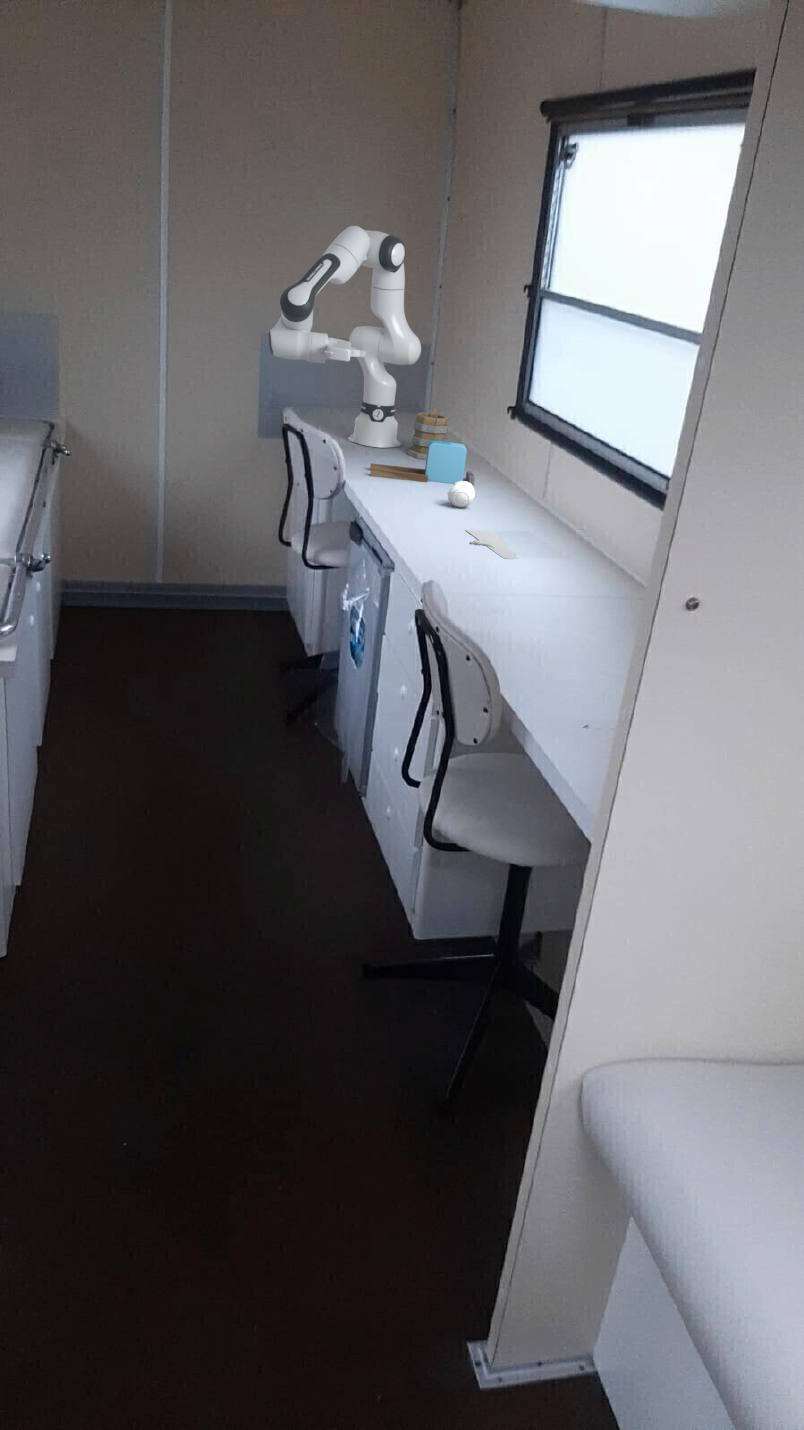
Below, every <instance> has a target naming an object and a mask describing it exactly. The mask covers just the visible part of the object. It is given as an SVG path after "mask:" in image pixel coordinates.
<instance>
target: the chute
mask: <svg viewBox="0 0 804 1430" xmlns="http://www.w3.org/2000/svg"><path fill="white" fill-rule="evenodd" d="M369 466H370V467H369V471H370V475H369V477H377V478H386V479H395V480H403V481H411V482H421V483H428V482H429V481H428V475H425V468H416V467H407V466H398V465H390V464H381V463H380V464H379V463H371V462H370V465H369ZM475 480H476V479H475V475H474V473H473V471H472V470H466V473H465V481H467V482H468V483H471V484H472V486H473V487H474V486H475Z"/></svg>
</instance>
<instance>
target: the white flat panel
mask: <svg viewBox="0 0 804 1430" xmlns="http://www.w3.org/2000/svg"><path fill="white" fill-rule="evenodd" d="M465 532H467V533H469V534H470V535H471V536H472V537H474V538H475V539H476V540H473V541H469V544H470V545H475V546H483V547H484V546H485V547H488V549H490V550H492V551H493V552H494V553H496V554H497V555H499V556H500V557H501V558H503V559H506V560H515V559H516V560H518V559H519V560H520V558H519V557H518V555H516V554H515V553H514V552H513V550H511V548H509V546H508V545H506V543H505V542H504V541H503V540H502V539H501V537H500V536H498V535H497V534H496V532H494V531H493V530H486V529H485V530H484V529H483V530H481V529H465Z"/></svg>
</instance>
